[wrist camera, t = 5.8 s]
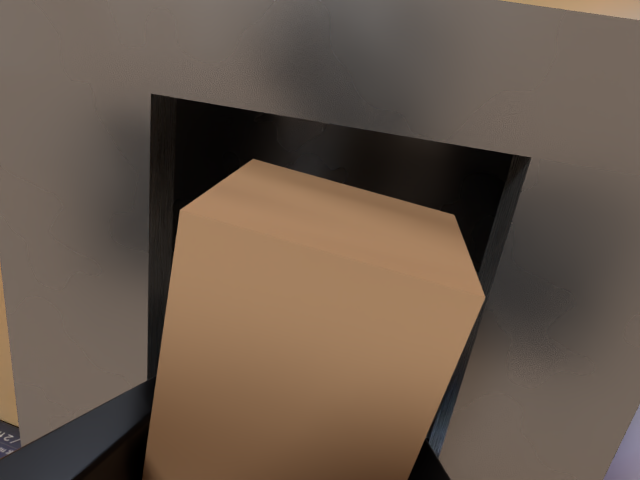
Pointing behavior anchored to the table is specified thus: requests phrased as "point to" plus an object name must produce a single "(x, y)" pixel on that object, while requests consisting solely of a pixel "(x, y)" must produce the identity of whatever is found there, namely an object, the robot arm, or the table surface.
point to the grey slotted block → (343, 167)
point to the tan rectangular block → (306, 331)
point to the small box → (9, 439)
